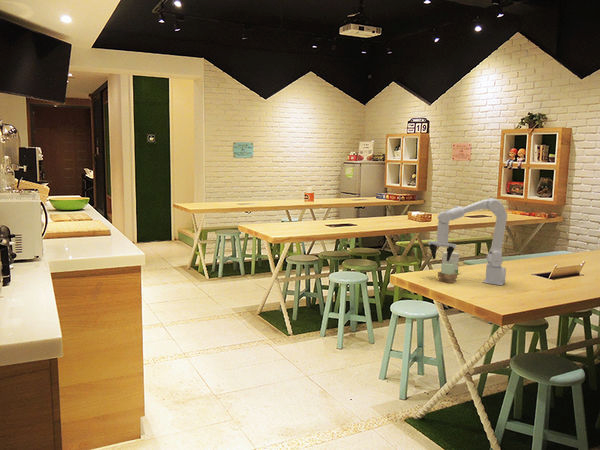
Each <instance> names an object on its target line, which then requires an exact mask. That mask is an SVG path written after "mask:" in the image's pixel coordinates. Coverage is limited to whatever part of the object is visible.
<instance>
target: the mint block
mask: <svg viewBox="0 0 600 450" xmlns="http://www.w3.org/2000/svg"><path fill="white" fill-rule="evenodd" d="M441 266H442V268H441V269H440V272H441V273H444V274H449V275H451V274H454V271H455V264H453V263H447V262H445V263H442V262H441Z"/></svg>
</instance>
